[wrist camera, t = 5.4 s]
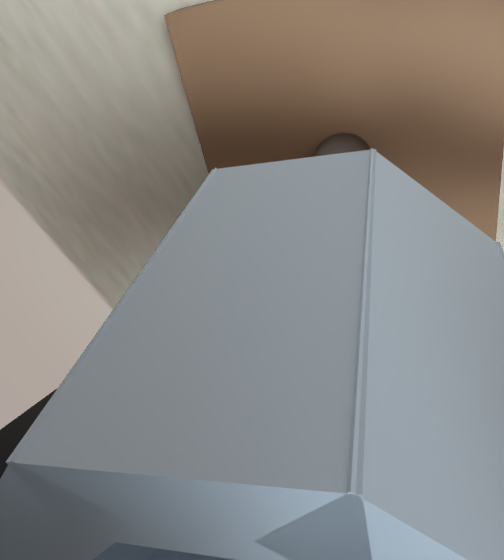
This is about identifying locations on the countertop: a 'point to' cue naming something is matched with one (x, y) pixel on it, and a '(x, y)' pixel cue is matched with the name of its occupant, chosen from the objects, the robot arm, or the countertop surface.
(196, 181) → the countertop surface
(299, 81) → the roll holder
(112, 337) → the blue roll
